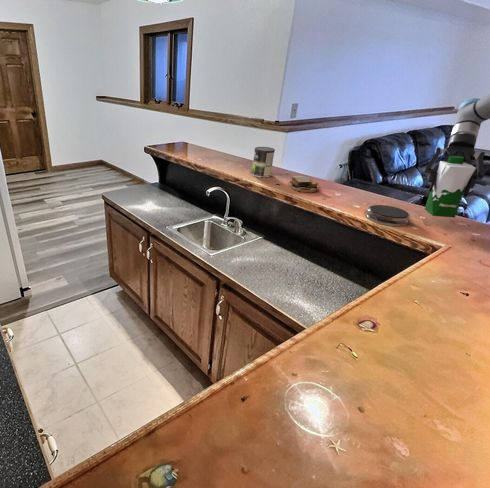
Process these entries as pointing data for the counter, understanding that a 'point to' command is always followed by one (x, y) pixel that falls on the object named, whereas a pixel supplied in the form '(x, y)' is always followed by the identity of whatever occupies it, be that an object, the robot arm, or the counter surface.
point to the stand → (387, 215)
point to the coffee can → (262, 162)
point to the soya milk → (449, 187)
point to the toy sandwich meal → (303, 184)
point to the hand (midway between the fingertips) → (447, 192)
